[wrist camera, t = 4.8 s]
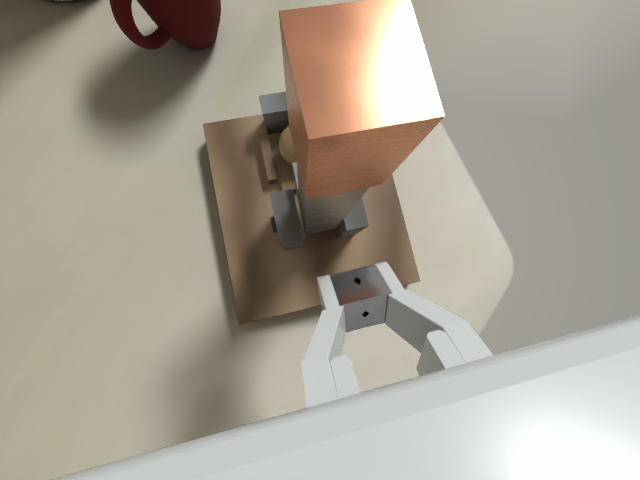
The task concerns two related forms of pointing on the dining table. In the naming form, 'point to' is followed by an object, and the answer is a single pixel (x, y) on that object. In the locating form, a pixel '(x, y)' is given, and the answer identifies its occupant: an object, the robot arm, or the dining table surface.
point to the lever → (353, 100)
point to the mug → (171, 21)
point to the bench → (261, 245)
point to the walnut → (287, 147)
